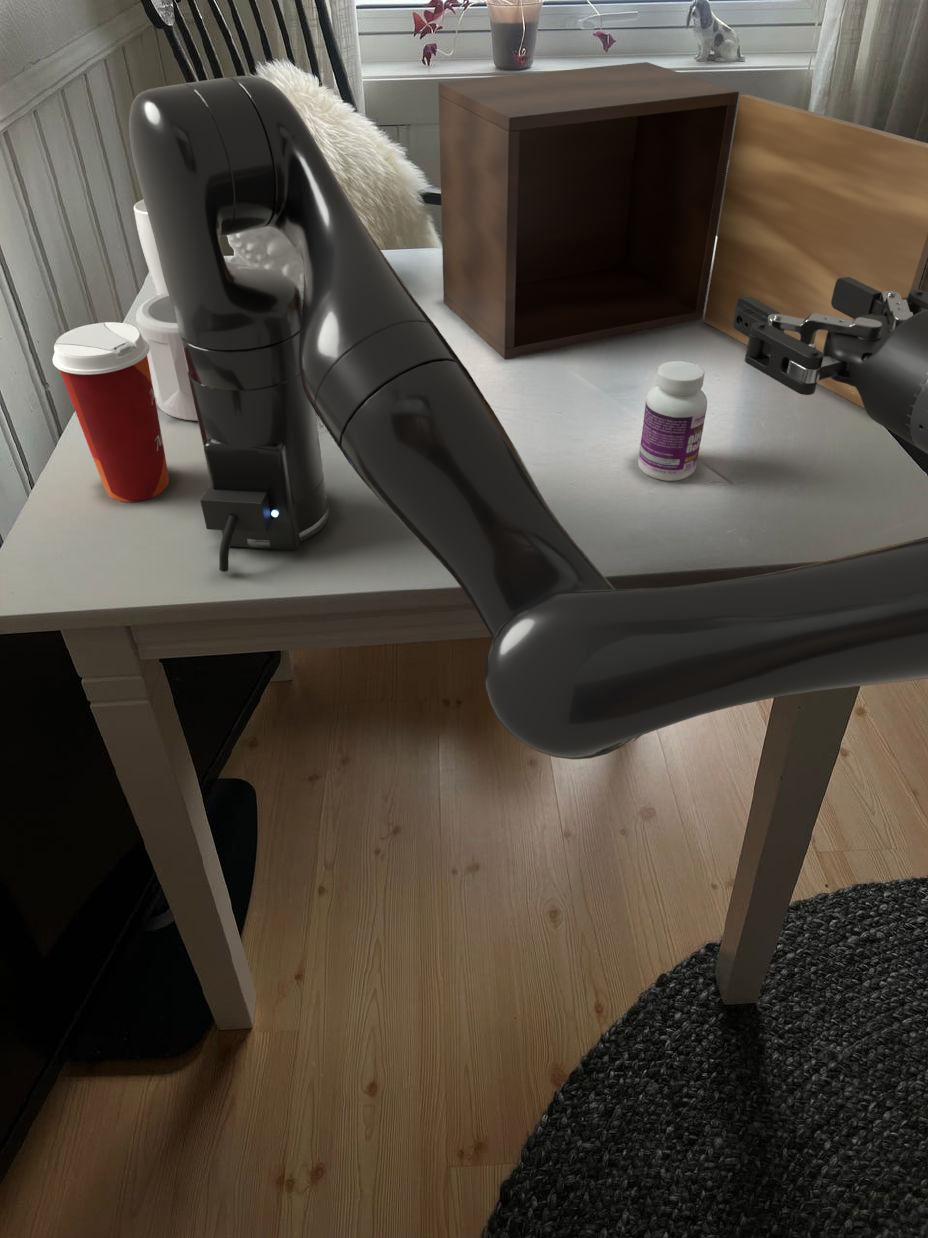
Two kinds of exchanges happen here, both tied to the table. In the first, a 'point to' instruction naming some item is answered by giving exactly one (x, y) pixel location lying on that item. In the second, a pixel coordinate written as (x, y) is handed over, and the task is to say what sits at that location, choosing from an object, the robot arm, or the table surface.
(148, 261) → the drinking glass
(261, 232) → the cauliflower
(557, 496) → the table surface
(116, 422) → the paper cup
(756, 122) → the cabinet door
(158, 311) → the mug
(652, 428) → the pill bottle
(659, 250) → the cabinet
